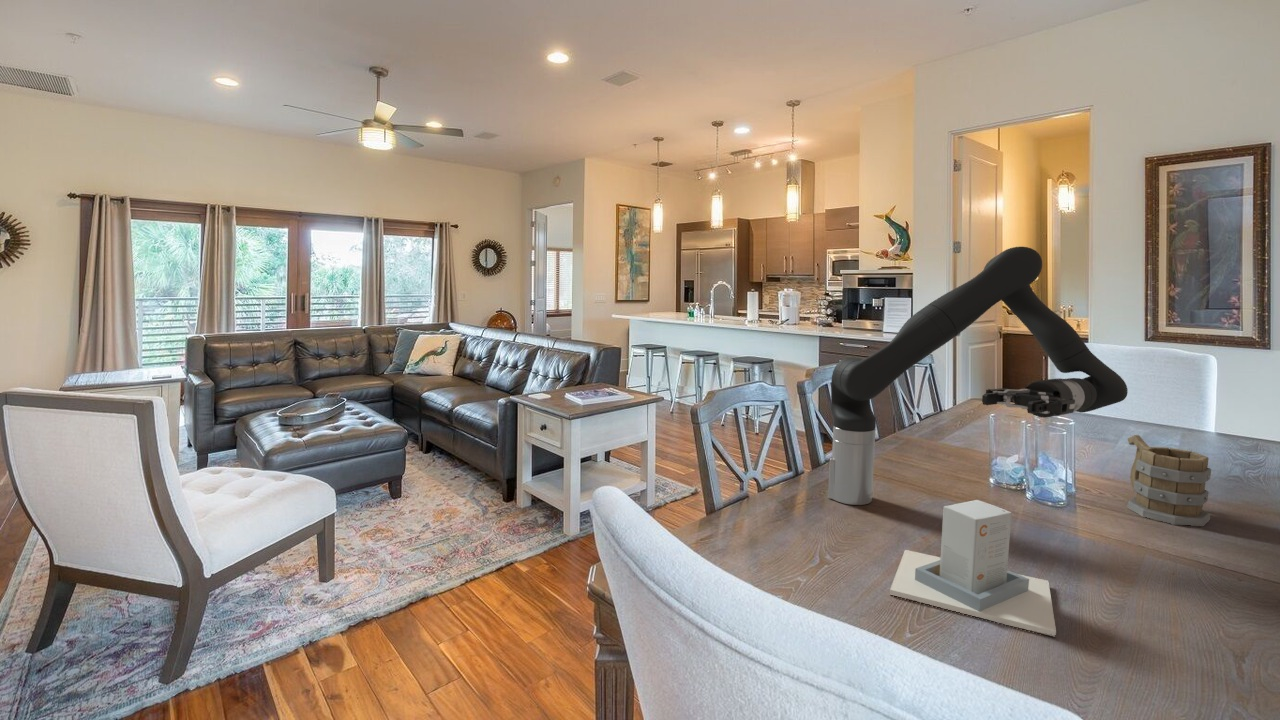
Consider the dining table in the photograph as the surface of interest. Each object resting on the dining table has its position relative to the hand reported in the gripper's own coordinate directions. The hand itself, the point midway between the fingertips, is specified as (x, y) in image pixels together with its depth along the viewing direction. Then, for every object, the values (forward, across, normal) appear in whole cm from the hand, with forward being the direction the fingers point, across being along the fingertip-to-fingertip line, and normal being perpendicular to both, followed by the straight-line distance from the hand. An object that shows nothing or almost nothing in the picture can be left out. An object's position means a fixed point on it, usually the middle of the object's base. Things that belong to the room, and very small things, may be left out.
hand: (1006, 403), depth 112 cm
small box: (+22, +10, +27) cm, 36 cm away
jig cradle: (+23, +10, +28) cm, 37 cm away
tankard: (-49, +7, +27) cm, 57 cm away
